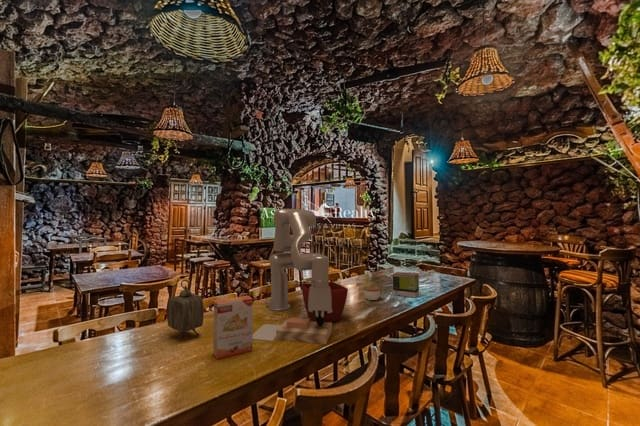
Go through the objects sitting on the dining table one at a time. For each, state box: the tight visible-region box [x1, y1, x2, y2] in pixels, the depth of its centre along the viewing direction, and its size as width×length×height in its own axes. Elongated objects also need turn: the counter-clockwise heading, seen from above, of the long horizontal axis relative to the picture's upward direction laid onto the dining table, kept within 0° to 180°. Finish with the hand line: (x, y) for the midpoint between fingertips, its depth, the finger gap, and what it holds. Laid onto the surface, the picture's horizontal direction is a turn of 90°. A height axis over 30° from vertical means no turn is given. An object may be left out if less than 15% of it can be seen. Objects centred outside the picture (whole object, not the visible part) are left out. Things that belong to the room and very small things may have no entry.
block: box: [287, 317, 311, 329], centre depth 134 cm, size 9×6×2 cm, turn 78°
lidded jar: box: [363, 284, 381, 301], centre depth 190 cm, size 11×11×9 cm
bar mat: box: [253, 323, 282, 342], centre depth 137 cm, size 11×18×1 cm, turn 168°
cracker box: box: [212, 295, 254, 360], centre depth 117 cm, size 14×6×21 cm, turn 122°
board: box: [275, 318, 333, 345], centre depth 133 cm, size 22×14×4 cm, turn 78°
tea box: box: [392, 271, 420, 299], centre depth 201 cm, size 15×10×15 cm, turn 58°
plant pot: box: [300, 281, 349, 323], centre depth 155 cm, size 19×19×17 cm
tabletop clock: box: [166, 279, 205, 339], centre depth 133 cm, size 14×9×25 cm, turn 56°
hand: (320, 325), depth 132 cm, fingers closed
